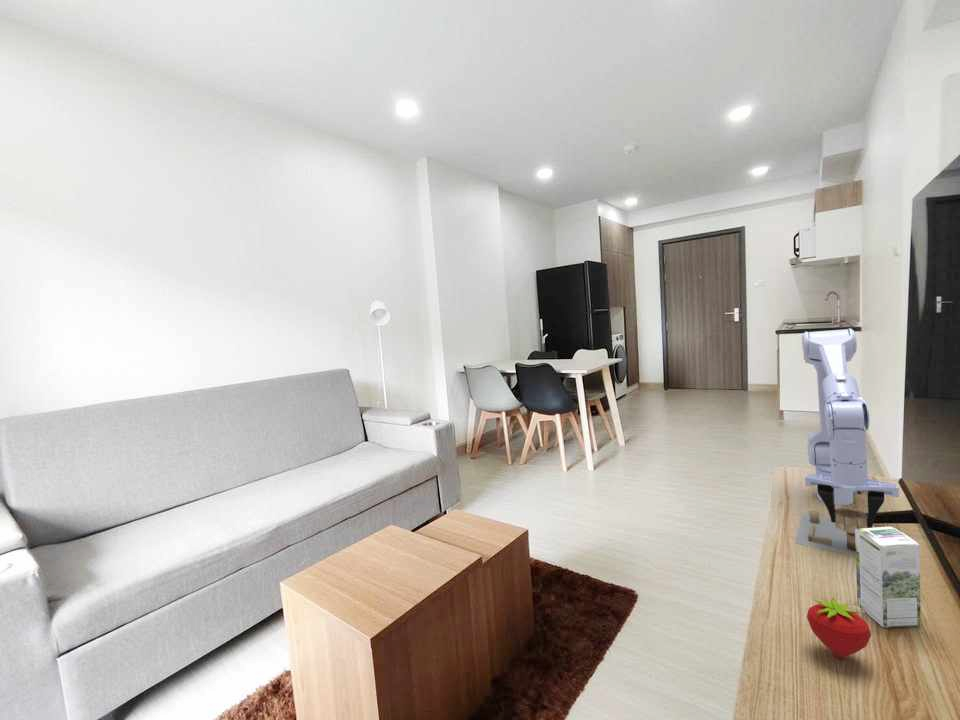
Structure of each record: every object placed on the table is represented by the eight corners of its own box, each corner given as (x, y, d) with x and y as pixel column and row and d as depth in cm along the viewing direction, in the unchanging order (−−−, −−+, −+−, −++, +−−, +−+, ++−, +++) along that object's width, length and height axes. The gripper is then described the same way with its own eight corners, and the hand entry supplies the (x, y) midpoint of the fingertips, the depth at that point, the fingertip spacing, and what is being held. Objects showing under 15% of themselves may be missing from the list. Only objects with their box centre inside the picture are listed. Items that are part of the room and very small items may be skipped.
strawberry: (871, 682, 63) (868, 616, 62) (805, 658, 68) (802, 597, 67) (873, 655, 67) (871, 593, 66) (811, 635, 72) (808, 577, 71)
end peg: (847, 545, 93) (846, 529, 92) (858, 547, 92) (857, 531, 91) (846, 549, 91) (846, 533, 91) (858, 551, 90) (857, 535, 90)
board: (803, 517, 107) (802, 505, 107) (875, 529, 99) (874, 516, 98) (795, 546, 96) (794, 533, 96) (875, 562, 87) (875, 548, 87)
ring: (836, 519, 95) (835, 506, 94) (868, 524, 91) (867, 510, 91) (835, 530, 91) (834, 516, 90) (868, 535, 87) (867, 521, 87)
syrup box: (892, 603, 76) (889, 524, 75) (923, 628, 71) (920, 542, 69) (856, 605, 77) (853, 526, 76) (884, 630, 71) (880, 544, 70)
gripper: (801, 461, 91) (805, 524, 93) (898, 471, 82) (901, 540, 83) (805, 451, 97) (809, 510, 98) (896, 458, 87) (899, 524, 88)
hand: (851, 523), depth 91 cm, fingers closed on ring, 5 cm apart
